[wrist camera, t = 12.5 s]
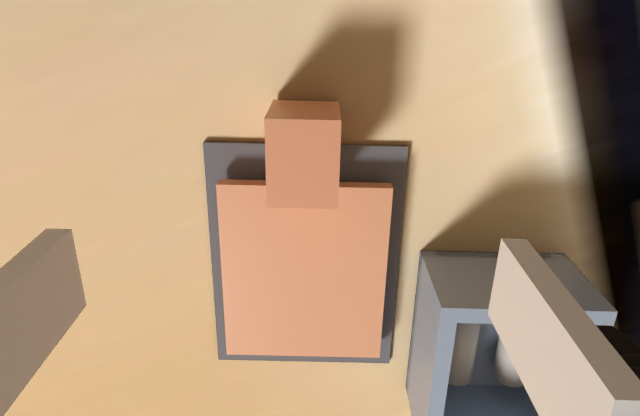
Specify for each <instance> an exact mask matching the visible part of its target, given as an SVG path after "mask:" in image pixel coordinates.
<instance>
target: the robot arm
mask: <svg viewBox="0 0 640 416" xmlns="http://www.w3.org/2000/svg"><path fill="white" fill-rule="evenodd" d="M85 306H86V301H85V296H84V291H83V286H82V281H81V276H80V270H79V265H78V260H77V255H76V250H75V245H74V240H73V235H72V229H45V230H44V231H43V232H42V233H41V234H40V235H39V236H37V237H36V238H35V239H34V240H33V241H32V242H30V243H29V244H28V245H27V246H26V247H25V248H24V249H22V250H21V251H20V252H19V253H18V254H17V255H15V256H14V257H13V258H12V259H11V260H10V261H9V262H7V263H6V264H5V265H4V266H3V267H2V268H0V416H4V414H5V413H6V412H7V410H8V409H9V408H10V406H11V405H12V404H13V402H14V401H15V400H16V398H17V397H18V396H19V394H20V393H21V392H22V390H23V389H24V388H25V386H26V385H27V384H28V382H29V381H30V380H31V378H32V377H33V376H34V374H35V373H36V372H37V370H38V369H39V368H40V366H41V365H42V364H43V362H44V361H45V360H46V358H47V357H48V356H49V354H50V353H51V352H52V350H53V349H54V348H55V346H56V345H57V344H58V342H59V341H60V340H61V338H62V337H63V336H64V334H65V333H66V332H67V330H68V329H69V328H70V326H71V325H72V323H73V322H74V321H75V319H76V318H77V317H78V315H79V314H80V313H81V311H82V310H83V309H84V307H85ZM488 315H489V317H490V319H491V321H492V323H493V325H494V327H495V329H496V331H497V333H498V335H499V337H500V339H501V341H502V343H503V345H504V347H505V349H506V351H507V353H508V355H509V357H510V359H511V361H512V363H513V365H514V367H515V369H516V371H517V373H518V375H519V377H520V379H521V381H522V383H523V385H524V387H525V389H526V391H527V393H528V395H529V397H530V399H531V401H532V403H533V405H534V407H535V409H536V411H537V413H538V415H539V416H640V348H639V347H638V346H637V345H636V344H635V343H634V342H633V340H632V339H631V338H629V337H628V336H626V335H625V334H623V333H622V332H620V331H619V330H617V329H616V328H614V327H613V326H607V325H595V324H594V322H593V321H592V320H591V319H590V317H589V316H588V315H587V314H586V312H585V311H584V310H583V309H582V307H581V306H580V305H579V304H578V302H577V301H576V300H575V299H574V297H573V296H572V295H571V294H570V292H569V291H568V290H567V289H566V287H565V286H564V285H563V284H562V282H561V281H560V280H559V279H558V277H557V276H556V275H555V274H554V273H553V271H552V270H551V269H550V268H549V266H548V265H547V264H546V263H545V261H544V260H543V259H542V258H541V256H540V255H539V254H538V253H537V251H536V250H535V249H534V248H533V246H532V245H531V244H530V243H529V241H528V240H527V239H519V238H501V242H500V248H499V253H498V259H497V264H496V270H495V276H494V281H493V287H492V292H491V298H490V303H489V309H488Z"/></svg>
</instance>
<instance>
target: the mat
mask: <svg viewBox="0 0 640 416" xmlns="http://www.w3.org/2000/svg"><path fill="white" fill-rule="evenodd" d="M203 148H204V162H205V176H206V190H207V204H208V218H209V232H210V246H211V260H212V274H213V287H214V301H215V315H216V329H217V343H218V357H219V360H265V361H312V362H360V363H389V361H390V350H391V339H392V328H393V317H394V305H395V294H396V283H397V272H398V261H399V250H400V238H401V227H402V216H403V205H404V194H405V183H406V171H407V160H408V149H409V147H408V146H401V145H353V144H341V149H340V176H339V182H372V183H392V186H393V199H392V211H391V223H390V236H389V248H388V260H387V273H386V285H385V297H384V310H383V322H382V335H381V347H380V358H365V357H319V356H273V355H227V352H226V336H225V320H224V304H223V288H222V273H221V257H220V241H219V225H218V209H217V193H216V184H217V182H218V180H219V179H233V180H266V167H265V143H257V142H210V141H204V142H203Z"/></svg>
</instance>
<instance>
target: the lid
mask: <svg viewBox="0 0 640 416" xmlns="http://www.w3.org/2000/svg"><path fill="white" fill-rule="evenodd" d="M264 122H265V167H266V180H233V179H219V180H218V182H217V184H216V193H217V209H218V225H219V241H220V257H221V273H222V288H223V304H224V320H225V336H226V352H227V355H273V356H319V357H365V358H380V347H381V335H382V322H383V310H384V297H385V285H386V273H387V260H388V248H389V236H390V223H391V211H392V199H393V186H392V183H372V182H339V176H340V149H341V122H342V120H341V113H340V105H339V101H301V100H273V102H272V104H271V106H270V108H269V110H268V112H267V114H266V116H265V119H264Z"/></svg>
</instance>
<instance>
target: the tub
mask: <svg viewBox="0 0 640 416" xmlns="http://www.w3.org/2000/svg"><path fill="white" fill-rule="evenodd" d="M498 253H499V252H456V251H420V258H419V267H418V276H417V286H416V295H415V304H414V314H413V323H412V332H411V342H410V351H409V360H408V370H407V379H406V390H407V395H408V400H409V405H410V410H411V415H412V416H539V415H538V413H537V411H536V409H535V407H534V405H533V403H532V401H531V399H530V397H529V395H528V393H527V391H526V389H525V387H524V385H523V383H522V381H521V379H520V377H519V375H518V373H517V371H516V369H515V367H514V365H513V363H512V361H511V359H510V357H509V355H508V353H507V351H506V349H505V347H504V345H503V343H502V341H501V339H500V337H499V335H498V333H497V331H496V329H495V327H494V325H493V323H492V321H491V319H490V317H489V315H488V309H489V303H490V298H491V292H492V287H493V281H494V276H495V270H496V264H497V259H498ZM538 254H539V255H540V256H541V258H542V259H543V260H544V261H545V263H546V264H547V265H548V266H549V268H550V269H551V270H552V271H553V273H554V274H555V275H556V276H557V277H558V279H559V280H560V281H561V282H562V284H563V285H564V286H565V287H566V289H567V290H568V291H569V292H570V294H571V295H572V296H573V297H574V299H575V300H576V301H577V302H578V304H579V305H580V306H581V307H582V309H583V310H584V311H585V312H586V314H587V315H588V316H589V317H590V319H591V320H592V321H593V322H594V324H595V325H607V326H614V323H615V320H616V316H617V313H618V311H617V310H616V309H615V308H614V307H613V306H612V305H611V304H610V303H609V302H608V301H607V300H606V298H605V297H604V296H603V295H602V294H601V293H600V292H599V291H598V290H597V289H596V288H595V287H594V285H593V284H592V283H591V282H590V281H589V280H588V279H587V278H586V277H585V276H584V275H583V274H582V272H581V271H580V270H579V269H578V268H577V267H576V266H575V265H574V264H573V263H572V262H571V261H570V259H569V258H568V257H567V256H566V255H565V254H551V253H538Z"/></svg>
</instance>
